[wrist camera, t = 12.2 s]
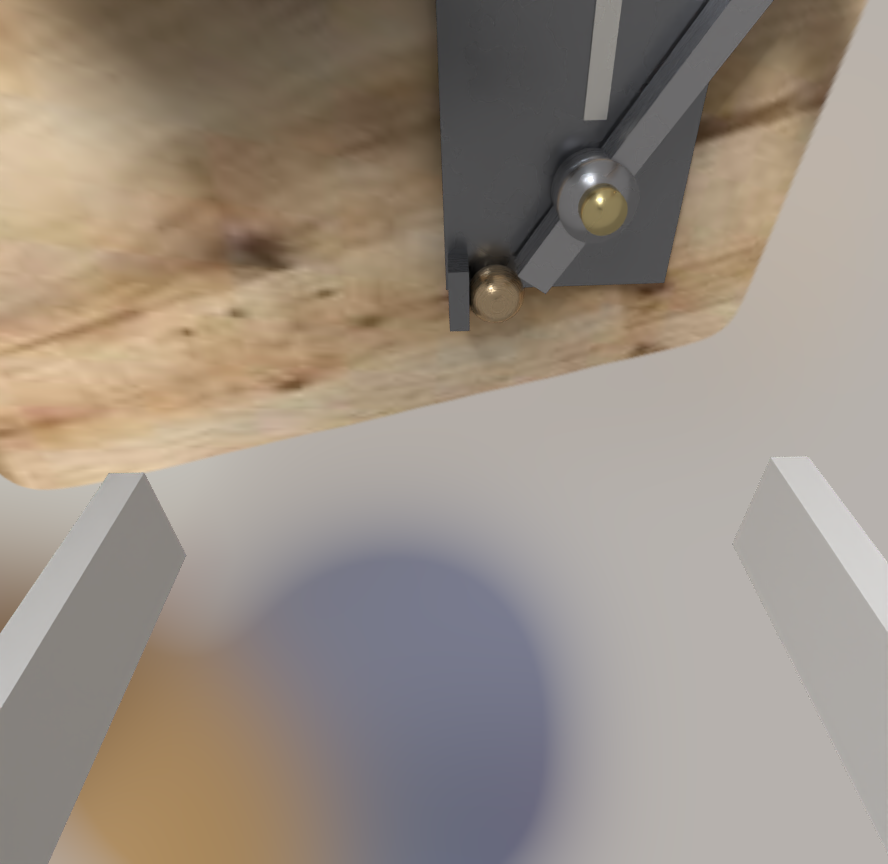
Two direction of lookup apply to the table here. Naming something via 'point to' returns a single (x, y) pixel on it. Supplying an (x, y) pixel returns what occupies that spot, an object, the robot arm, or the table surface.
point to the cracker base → (551, 138)
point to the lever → (633, 139)
